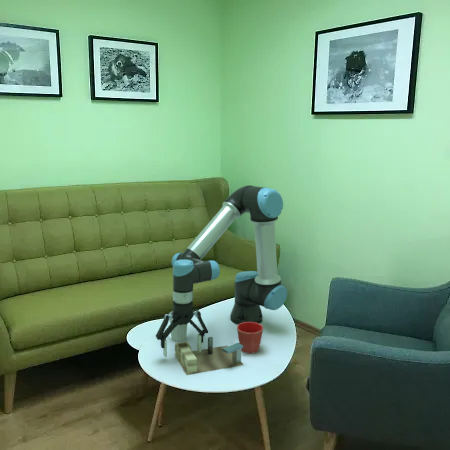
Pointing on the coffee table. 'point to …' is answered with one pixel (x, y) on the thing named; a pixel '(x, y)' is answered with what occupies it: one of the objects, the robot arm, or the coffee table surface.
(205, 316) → the coffee table surface
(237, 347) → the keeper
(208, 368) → the board
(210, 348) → the pin
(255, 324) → the flower pot
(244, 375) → the coffee table surface
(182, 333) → the cup
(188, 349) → the link
